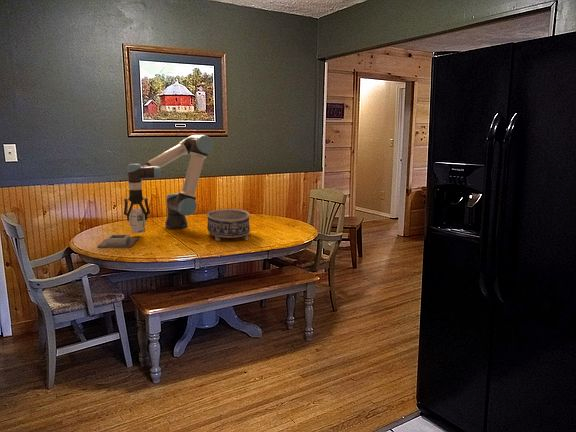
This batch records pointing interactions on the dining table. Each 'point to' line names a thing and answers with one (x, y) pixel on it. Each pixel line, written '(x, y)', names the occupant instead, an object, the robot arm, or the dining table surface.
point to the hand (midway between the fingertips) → (137, 225)
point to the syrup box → (137, 221)
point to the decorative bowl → (228, 223)
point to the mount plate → (118, 241)
